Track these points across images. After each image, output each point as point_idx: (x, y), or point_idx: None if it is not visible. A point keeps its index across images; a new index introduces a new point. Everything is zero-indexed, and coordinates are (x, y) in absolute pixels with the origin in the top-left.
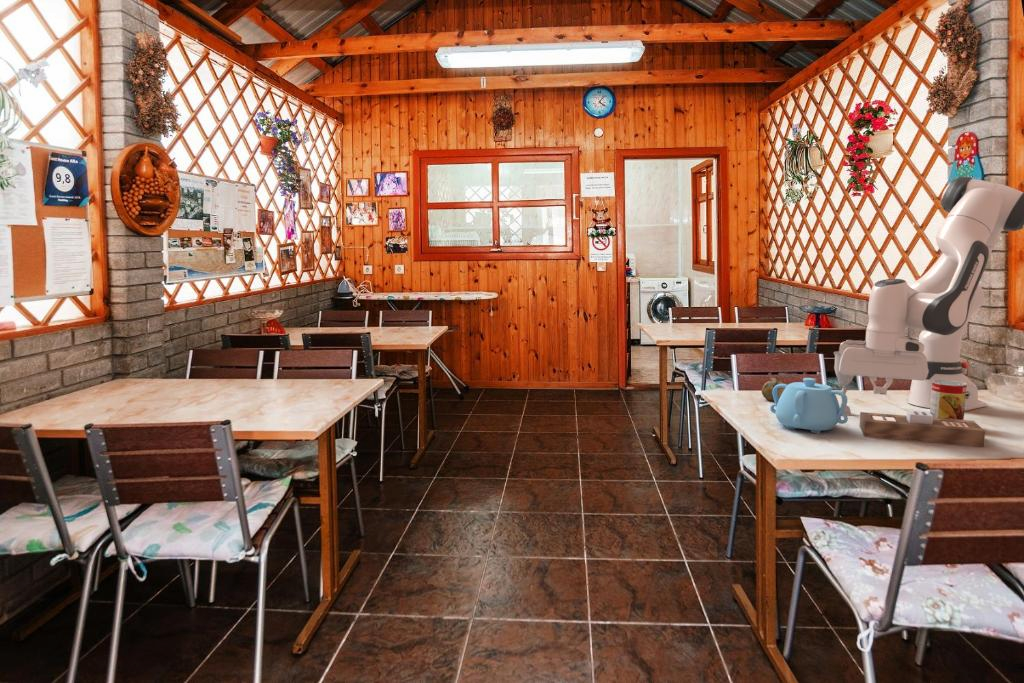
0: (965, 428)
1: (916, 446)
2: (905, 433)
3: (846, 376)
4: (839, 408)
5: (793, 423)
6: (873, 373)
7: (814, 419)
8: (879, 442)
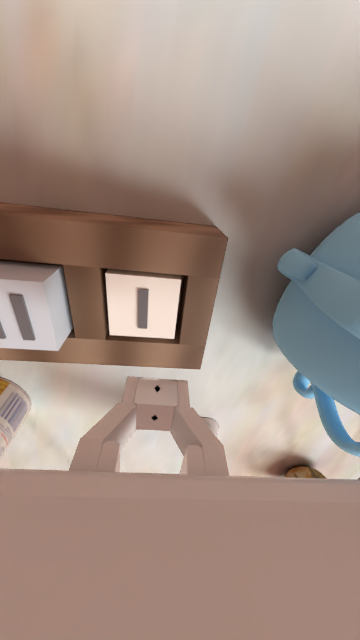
0: None
1: (54, 110)
2: (84, 215)
3: None
4: (303, 321)
5: None
6: (229, 509)
7: None
8: (185, 142)
